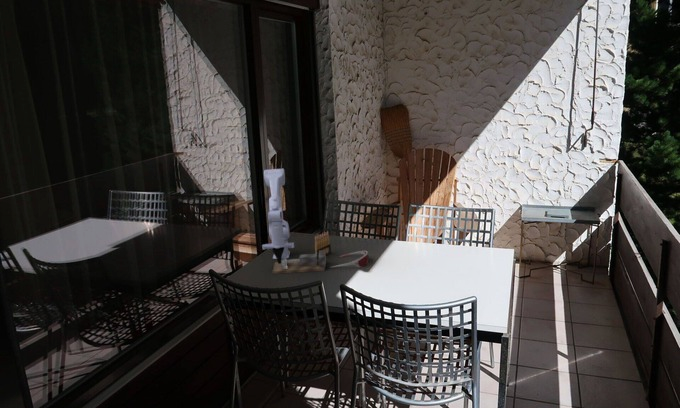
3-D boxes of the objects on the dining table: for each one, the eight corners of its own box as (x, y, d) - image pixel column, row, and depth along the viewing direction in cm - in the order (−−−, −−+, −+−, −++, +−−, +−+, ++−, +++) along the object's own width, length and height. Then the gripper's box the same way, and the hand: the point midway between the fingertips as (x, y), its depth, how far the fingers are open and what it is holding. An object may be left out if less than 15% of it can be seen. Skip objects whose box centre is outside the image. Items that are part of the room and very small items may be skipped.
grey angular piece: (281, 269, 255) (281, 261, 254) (283, 263, 264) (282, 255, 263) (303, 268, 255) (302, 260, 254) (304, 261, 264) (303, 253, 263)
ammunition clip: (317, 260, 270) (316, 236, 267) (314, 259, 271) (313, 235, 268) (331, 253, 278) (329, 230, 275) (328, 253, 279) (326, 230, 276)
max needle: (285, 269, 256) (285, 259, 255) (286, 268, 257) (285, 258, 256) (287, 269, 256) (286, 259, 255) (287, 268, 257) (286, 258, 256)
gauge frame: (272, 273, 255) (271, 261, 254) (275, 264, 267) (274, 252, 265) (325, 270, 255) (325, 257, 254) (326, 261, 267) (325, 249, 265)
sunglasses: (364, 270, 253) (361, 259, 252) (330, 274, 259) (327, 264, 258) (374, 257, 268) (371, 247, 268) (341, 261, 275) (339, 252, 274)
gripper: (260, 238, 253) (263, 266, 256) (292, 236, 253) (294, 264, 256) (262, 234, 260) (265, 261, 263) (293, 232, 260) (295, 259, 263)
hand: (279, 263), depth 260 cm, fingers closed
